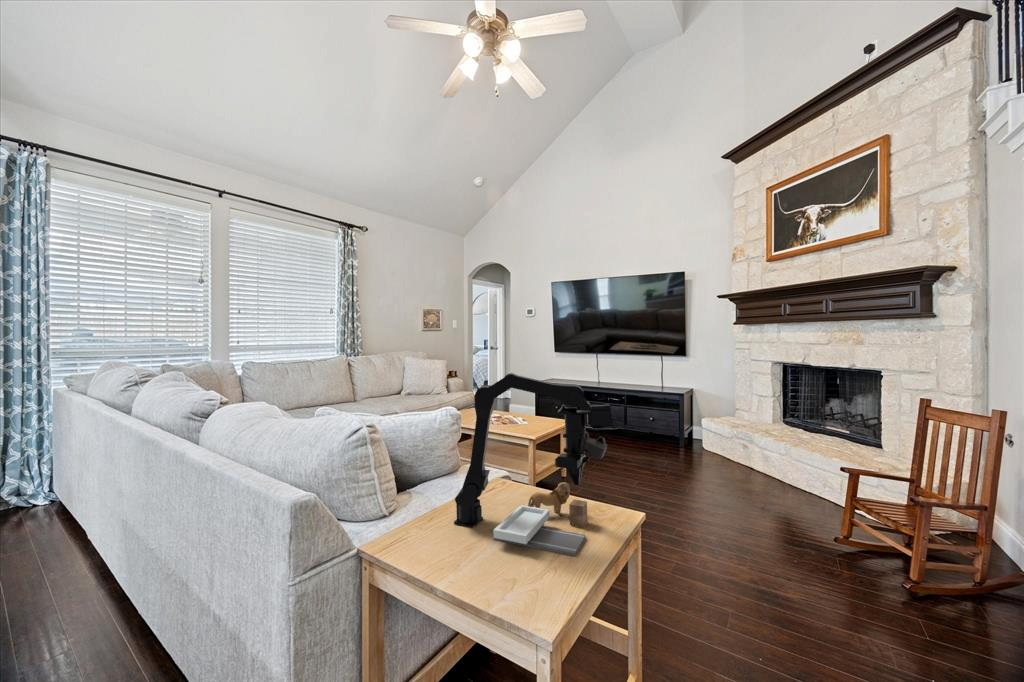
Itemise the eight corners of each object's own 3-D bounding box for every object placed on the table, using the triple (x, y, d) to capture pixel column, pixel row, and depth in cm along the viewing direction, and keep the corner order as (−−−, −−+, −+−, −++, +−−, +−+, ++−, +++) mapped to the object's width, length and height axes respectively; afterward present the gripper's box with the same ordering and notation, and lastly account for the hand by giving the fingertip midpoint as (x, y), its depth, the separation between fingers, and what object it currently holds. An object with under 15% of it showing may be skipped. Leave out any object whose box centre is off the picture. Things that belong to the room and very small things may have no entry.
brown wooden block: (569, 525, 115) (569, 504, 115) (573, 520, 119) (573, 499, 119) (583, 528, 113) (583, 506, 113) (587, 522, 117) (586, 501, 117)
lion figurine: (567, 508, 127) (566, 479, 128) (573, 514, 122) (573, 484, 122) (521, 514, 124) (521, 484, 124) (526, 521, 119) (526, 490, 119)
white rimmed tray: (493, 543, 104) (493, 529, 104) (520, 517, 119) (520, 505, 119) (526, 550, 100) (526, 536, 100) (549, 522, 116) (549, 509, 116)
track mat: (494, 539, 108) (493, 536, 108) (510, 524, 117) (510, 521, 117) (574, 556, 99) (574, 552, 99) (585, 538, 108) (585, 534, 108)
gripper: (594, 438, 104) (596, 500, 104) (611, 424, 120) (613, 477, 120) (553, 435, 109) (555, 494, 109) (575, 422, 125) (577, 473, 125)
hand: (577, 484), depth 116 cm, fingers closed
